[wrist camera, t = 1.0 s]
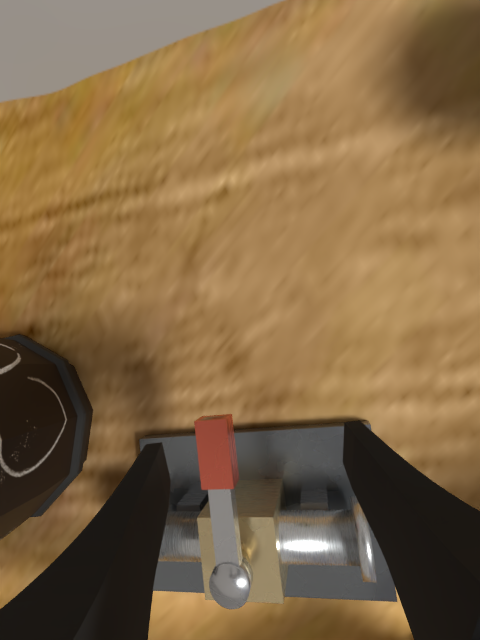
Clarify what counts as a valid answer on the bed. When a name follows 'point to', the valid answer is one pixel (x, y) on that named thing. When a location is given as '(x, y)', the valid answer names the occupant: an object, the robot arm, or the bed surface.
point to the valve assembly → (275, 518)
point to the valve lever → (223, 509)
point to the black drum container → (38, 429)
